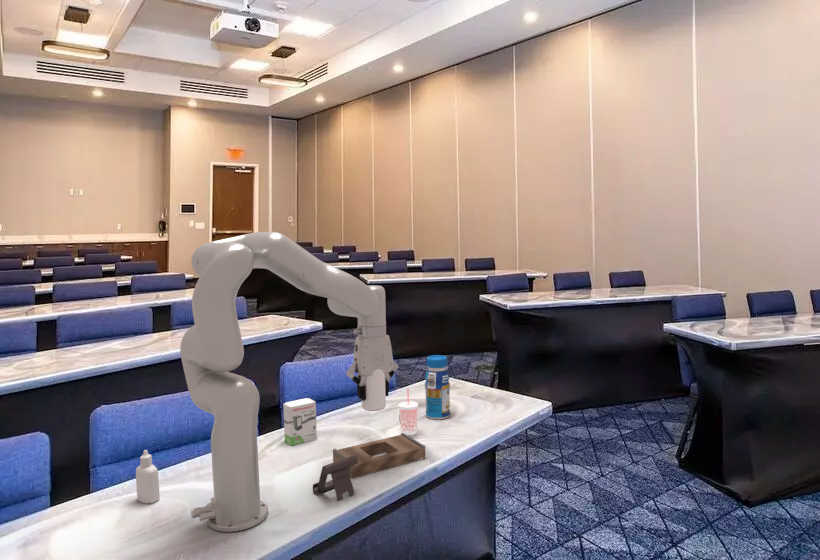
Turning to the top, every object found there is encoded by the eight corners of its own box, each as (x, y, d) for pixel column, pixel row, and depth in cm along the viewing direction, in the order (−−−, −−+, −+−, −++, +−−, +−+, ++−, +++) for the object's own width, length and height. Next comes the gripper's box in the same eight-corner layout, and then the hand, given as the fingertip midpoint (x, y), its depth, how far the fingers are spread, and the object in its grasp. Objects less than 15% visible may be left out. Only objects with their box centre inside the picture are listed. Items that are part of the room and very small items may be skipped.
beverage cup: (422, 434, 167) (421, 389, 166) (403, 437, 164) (402, 392, 163) (414, 428, 172) (413, 384, 171) (396, 431, 170) (395, 387, 169)
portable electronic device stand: (343, 481, 136) (342, 448, 136) (362, 491, 131) (361, 458, 130) (312, 493, 131) (311, 459, 130) (331, 504, 125) (329, 469, 124)
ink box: (291, 446, 160) (289, 406, 159) (284, 441, 164) (282, 402, 163) (317, 439, 165) (316, 400, 164) (310, 434, 169) (308, 397, 168)
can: (364, 412, 145) (363, 367, 144) (359, 405, 151) (358, 362, 150) (388, 409, 146) (387, 365, 146) (382, 402, 153) (381, 360, 152)
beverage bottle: (421, 413, 186) (420, 355, 184) (445, 410, 189) (444, 353, 187) (430, 421, 178) (429, 361, 176) (454, 418, 181) (453, 358, 179)
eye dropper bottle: (156, 492, 132) (153, 444, 131) (160, 501, 128) (157, 452, 127) (136, 497, 130) (133, 448, 129) (140, 507, 125) (136, 456, 124)
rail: (351, 478, 138) (351, 465, 138) (333, 461, 148) (332, 449, 148) (425, 458, 149) (425, 446, 149) (403, 444, 159) (403, 432, 159)
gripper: (348, 337, 139) (350, 406, 141) (406, 330, 148) (407, 395, 150) (336, 333, 146) (338, 399, 147) (392, 326, 155) (394, 389, 156)
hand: (373, 396), depth 148 cm, fingers closed on can, 6 cm apart
